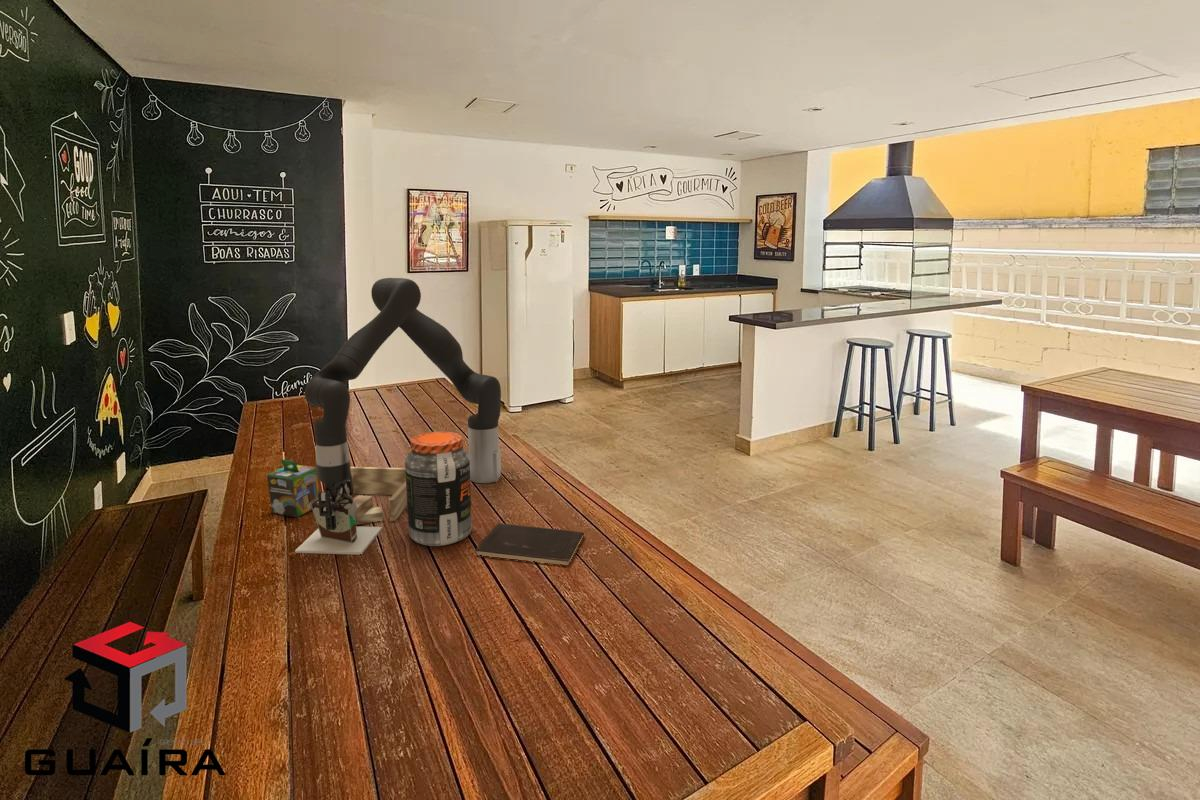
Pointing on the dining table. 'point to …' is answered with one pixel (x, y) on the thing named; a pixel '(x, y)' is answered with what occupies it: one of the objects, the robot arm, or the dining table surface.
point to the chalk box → (292, 489)
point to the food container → (338, 520)
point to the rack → (382, 485)
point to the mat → (339, 543)
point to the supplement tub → (438, 489)
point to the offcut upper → (363, 505)
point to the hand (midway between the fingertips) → (338, 522)
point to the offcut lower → (370, 516)
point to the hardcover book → (530, 543)
